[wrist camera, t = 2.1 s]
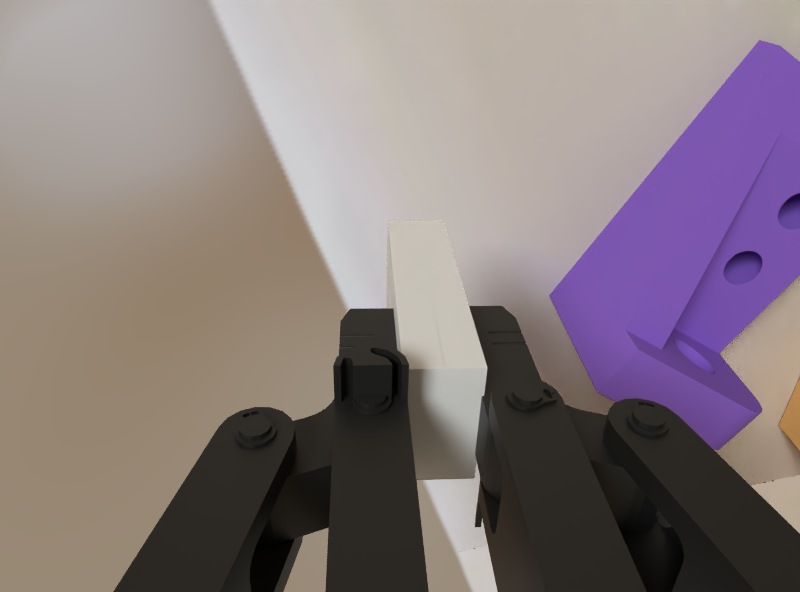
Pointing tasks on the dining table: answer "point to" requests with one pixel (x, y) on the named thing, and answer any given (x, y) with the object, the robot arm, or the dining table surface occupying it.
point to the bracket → (696, 254)
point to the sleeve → (792, 417)
